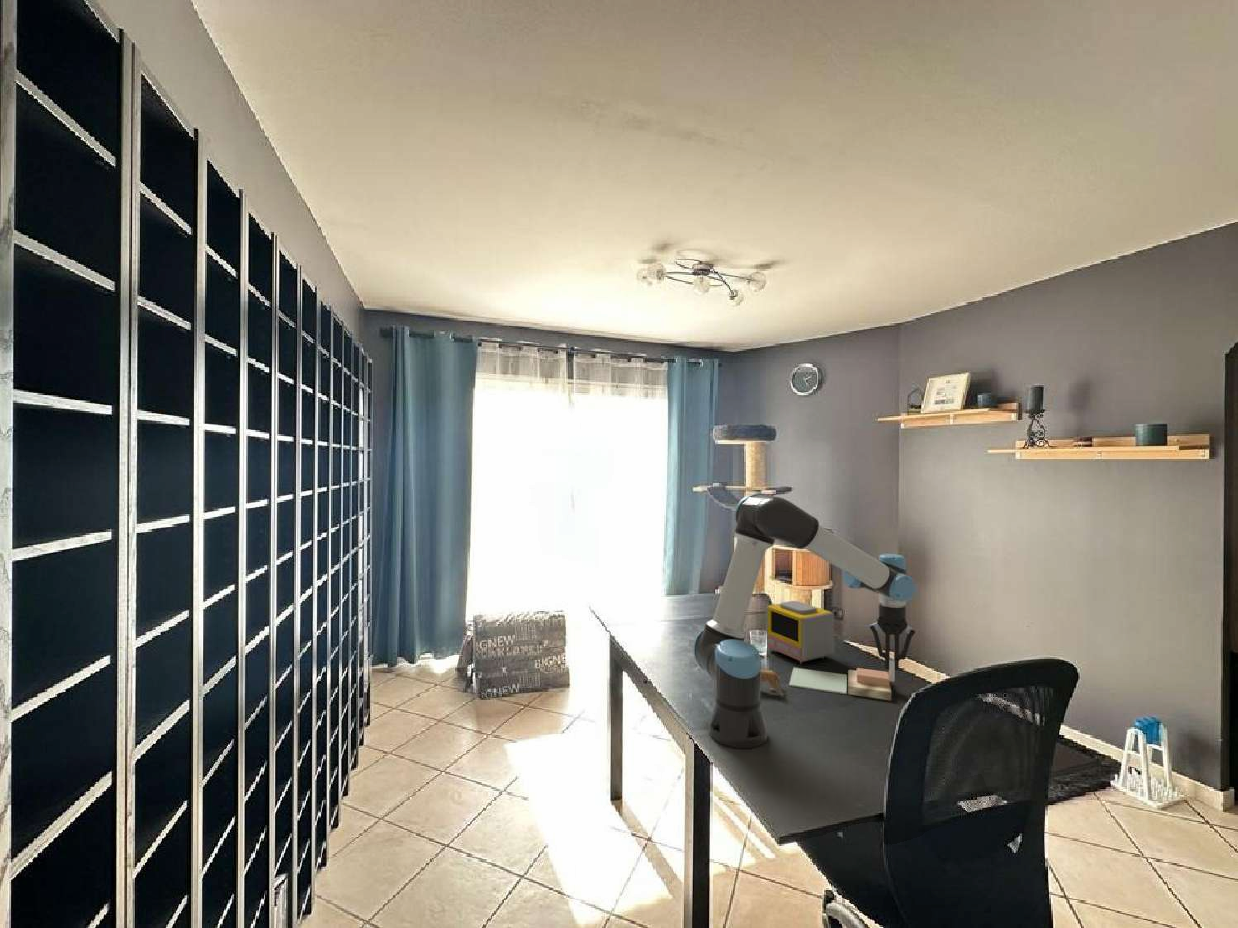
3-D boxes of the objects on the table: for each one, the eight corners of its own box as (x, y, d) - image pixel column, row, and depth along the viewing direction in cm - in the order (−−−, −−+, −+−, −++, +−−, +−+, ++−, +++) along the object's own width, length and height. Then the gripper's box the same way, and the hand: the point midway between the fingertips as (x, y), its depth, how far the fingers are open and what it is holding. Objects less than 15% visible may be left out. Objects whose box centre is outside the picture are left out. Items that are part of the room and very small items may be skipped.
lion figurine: (736, 690, 177) (736, 661, 177) (740, 683, 182) (740, 656, 182) (785, 697, 172) (785, 668, 171) (787, 690, 176) (787, 662, 176)
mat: (789, 685, 180) (789, 684, 180) (793, 668, 194) (793, 667, 194) (846, 694, 173) (846, 692, 173) (846, 676, 187) (846, 674, 187)
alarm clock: (763, 650, 212) (763, 601, 212) (795, 643, 219) (795, 596, 219) (802, 668, 195) (802, 615, 194) (835, 659, 202) (835, 608, 201)
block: (856, 682, 176) (856, 674, 176) (856, 675, 182) (856, 667, 182) (888, 686, 173) (888, 678, 173) (887, 679, 178) (887, 671, 178)
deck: (848, 694, 174) (848, 686, 174) (848, 676, 187) (848, 669, 187) (891, 700, 169) (891, 692, 169) (888, 682, 182) (888, 674, 182)
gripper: (869, 605, 174) (869, 681, 174) (917, 609, 169) (916, 687, 169) (868, 599, 181) (868, 672, 181) (914, 603, 176) (913, 678, 176)
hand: (891, 679), depth 175 cm, fingers closed
